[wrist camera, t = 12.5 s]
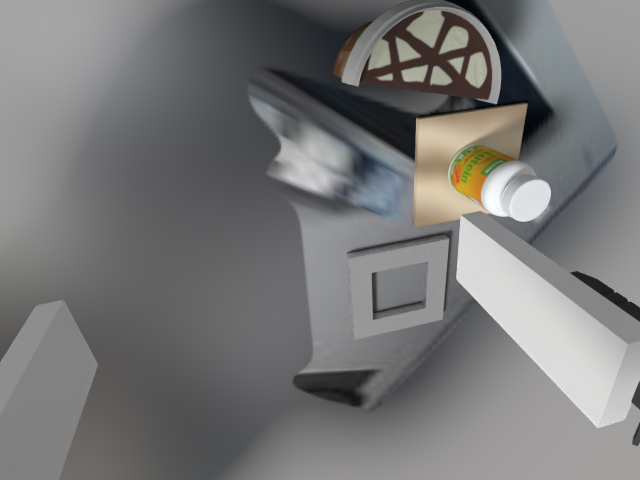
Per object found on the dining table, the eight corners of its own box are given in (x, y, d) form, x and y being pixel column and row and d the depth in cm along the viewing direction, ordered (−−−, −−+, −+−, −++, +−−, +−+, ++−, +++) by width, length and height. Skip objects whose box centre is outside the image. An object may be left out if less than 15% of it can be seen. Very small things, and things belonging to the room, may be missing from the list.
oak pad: (416, 118, 40) (419, 119, 40) (523, 102, 42) (527, 103, 42) (413, 225, 46) (415, 227, 45) (507, 207, 48) (510, 209, 47)
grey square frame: (346, 253, 46) (349, 258, 45) (444, 234, 48) (449, 238, 46) (351, 333, 51) (354, 339, 50) (438, 313, 53) (442, 319, 52)
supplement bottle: (467, 133, 42) (532, 159, 33) (501, 158, 44) (570, 188, 35) (436, 178, 43) (491, 214, 35) (470, 199, 45) (529, 238, 37)
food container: (457, 16, 37) (532, 13, 28) (439, 87, 39) (502, 105, 31) (327, -9, 33) (366, -21, 25) (316, 71, 36) (349, 85, 27)
